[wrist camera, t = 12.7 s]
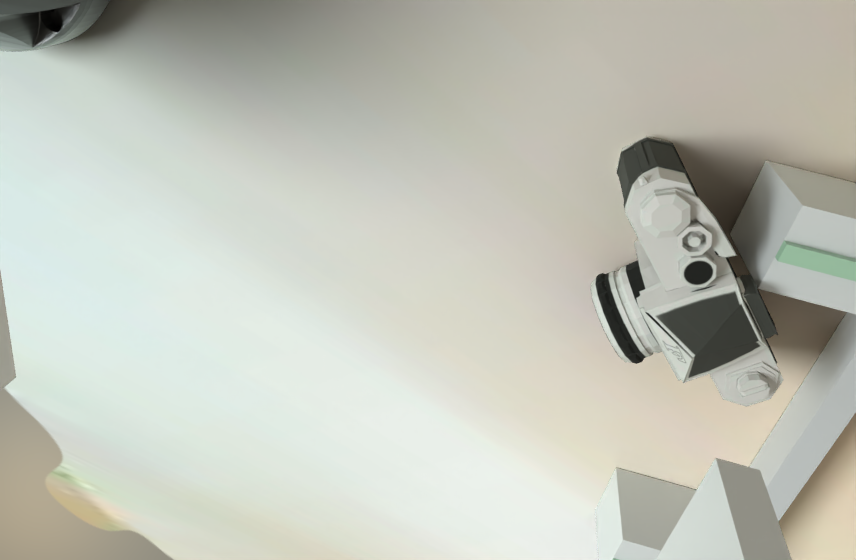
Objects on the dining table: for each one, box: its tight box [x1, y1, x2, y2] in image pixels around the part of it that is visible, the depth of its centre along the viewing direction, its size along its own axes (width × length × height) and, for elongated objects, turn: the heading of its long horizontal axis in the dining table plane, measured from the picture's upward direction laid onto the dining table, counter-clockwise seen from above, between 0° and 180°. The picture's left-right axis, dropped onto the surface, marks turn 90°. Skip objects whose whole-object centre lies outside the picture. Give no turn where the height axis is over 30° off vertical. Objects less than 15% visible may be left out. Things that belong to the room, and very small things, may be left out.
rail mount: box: [595, 160, 856, 560], centre depth 44 cm, size 10×31×8 cm, turn 168°
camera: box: [591, 136, 783, 406], centre depth 39 cm, size 16×9×10 cm, turn 32°
